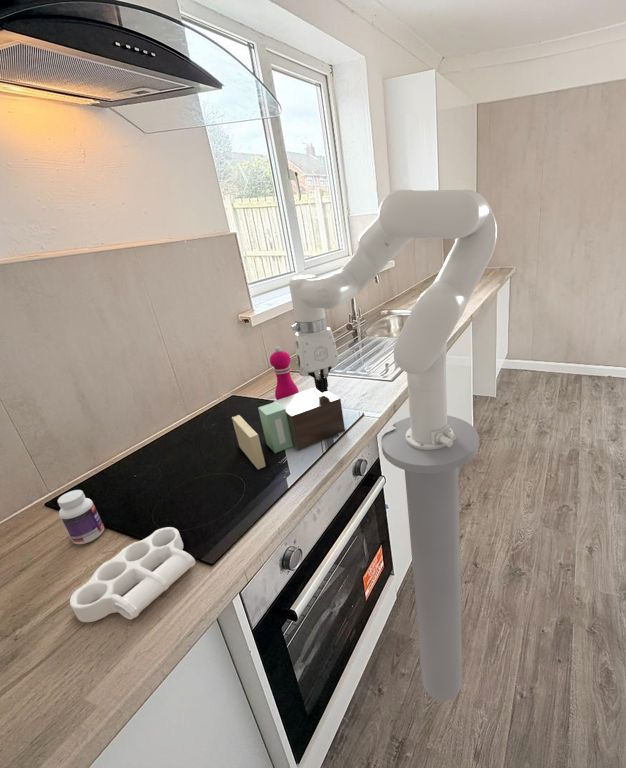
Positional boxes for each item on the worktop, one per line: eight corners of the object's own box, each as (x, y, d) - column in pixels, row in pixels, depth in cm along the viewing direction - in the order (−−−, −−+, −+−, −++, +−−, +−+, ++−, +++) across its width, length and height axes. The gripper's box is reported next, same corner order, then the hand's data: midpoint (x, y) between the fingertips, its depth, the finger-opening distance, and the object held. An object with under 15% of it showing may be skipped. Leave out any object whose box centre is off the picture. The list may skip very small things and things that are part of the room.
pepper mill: (274, 412, 127) (260, 351, 119) (283, 401, 134) (271, 343, 126) (296, 412, 126) (284, 350, 118) (304, 401, 133) (293, 342, 125)
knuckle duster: (115, 643, 61) (60, 609, 67) (212, 554, 75) (160, 533, 82) (106, 627, 59) (51, 594, 66) (207, 540, 74) (155, 519, 80)
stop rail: (266, 466, 100) (258, 434, 97) (258, 469, 99) (249, 437, 96) (247, 444, 111) (239, 414, 107) (239, 447, 110) (231, 417, 106)
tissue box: (276, 401, 108) (257, 407, 106) (285, 408, 104) (266, 415, 101) (284, 437, 113) (266, 444, 110) (293, 446, 108) (275, 453, 105)
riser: (345, 431, 113) (340, 398, 109) (298, 450, 106) (291, 416, 102) (324, 416, 122) (319, 385, 118) (280, 433, 115) (273, 401, 111)
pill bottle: (109, 531, 83) (91, 492, 79) (79, 549, 79) (58, 509, 75) (98, 522, 86) (80, 484, 82) (68, 538, 82) (48, 499, 78)
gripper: (290, 335, 98) (303, 404, 106) (344, 321, 106) (353, 386, 114) (278, 329, 104) (291, 395, 111) (330, 317, 112) (339, 379, 119)
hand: (322, 390), depth 112 cm, fingers closed
